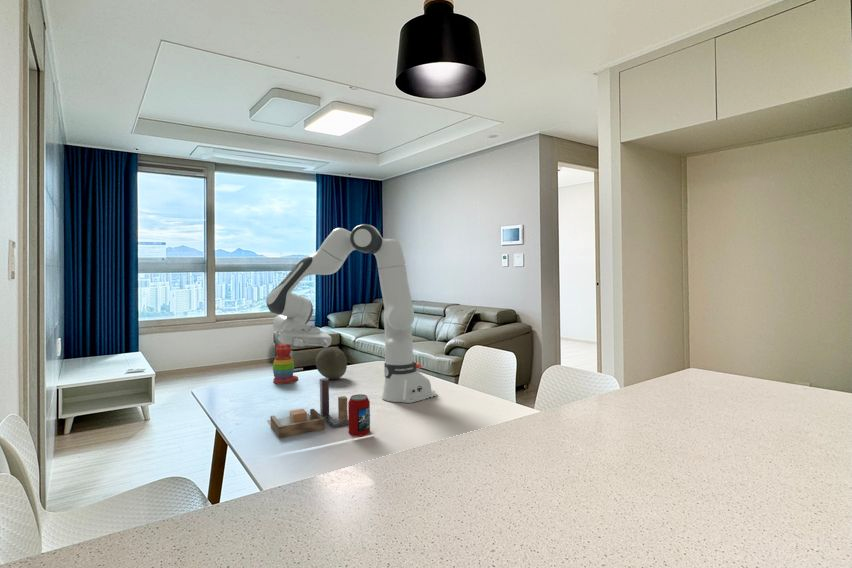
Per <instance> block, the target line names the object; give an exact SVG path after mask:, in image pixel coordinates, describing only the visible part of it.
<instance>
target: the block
mask: <svg viewBox="0 0 852 568" xmlns="http://www.w3.org/2000/svg"><path fill="white" fill-rule="evenodd" d="M307 414H308V413H307V411H306V410H305V409H304V408H299V409H294V410H289V417H290V424H292V423H297V422H303V421H307Z"/></svg>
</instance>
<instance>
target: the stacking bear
mask: <svg viewBox="0 0 852 568" xmlns="http://www.w3.org/2000/svg"><path fill="white" fill-rule="evenodd" d="M275 347H276V348H275V353H276V356H275V358H274V360H273V364H272V373H273V380H272V381H273V384H277V385H287V384H286V383H288V384H292V383H295V382H297V381H298V380H299V377H298V376H297V375H294V372H295V363H294V359H293V357H292V356H291V352H292V344H283V343H276V344H275Z"/></svg>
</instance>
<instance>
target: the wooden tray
mask: <svg viewBox="0 0 852 568" xmlns="http://www.w3.org/2000/svg"><path fill="white" fill-rule="evenodd" d="M269 417H270V419H268V420H266V422H267V424H268V425H269V426H270V428H271V429H272V431H273V432H274V433H275V435H276V436H277V438H278V439H284V438H290V437H294V436H299V435H305V434H309V433H314V432H319V431H324V430H325V429H326V426H325V422H326V421H325V419H324V418H323V417H322V416H321V415H320V413H319V412H318V411H317V410H316V409H315V408H311V409H310V410H309V413H307V421H303V422H297V423H292V424H290V416H286V417H285V416H284V417H280V418H278V417H276V415H274V414H273V415H270V416H269Z"/></svg>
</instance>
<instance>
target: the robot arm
mask: <svg viewBox="0 0 852 568" xmlns="http://www.w3.org/2000/svg"><path fill="white" fill-rule="evenodd" d="M353 251H358V252H361V253H364V254H372V255H374V256H375V260H376V264H377V271H378V277H379V279H378V280H379V285H380V291H381V296H382V302H383V309H384V311H383V318H384V319H383V322H384V343H385V344H384V346H385V347H384V349H385V358H384V360H385V362H384V363H383V364H384V367H383V369H384V370H383V371H384V372H383V373H384V385H383V392H382V395H381V399H383V400H384V401H387V402H394V403H403V404H404V403H406V404H413V403H415V402H419V401H422V400H427V399H430V398H429V397H431V398H434V397H433V396H435V397H437V396H438V393H437V391H436V390H434V389H432V384H431V382H430V379H429V378H428V377H426V376H425V375H423V374H422V373H421V372H419V371H418V369H419V370H420V369H422V364H421V363H419V362H415V361H414V357H413V356H414V353H413V352H414V351H413V350H414V347H413V345H414V342H413V333H412V331H413V330H412V325H413V323H414V320H415V313H414V312H415V311H414V306H413V302H412V296H411V289H410V286H409V281H408V273H407V267H406V260H405V255H404V251H403V249H402V246H401V243H400V242H399V241H398V240H396V239H395V238H394V239H393V238H384V237H382V234H381V232H380V230H379V229H377V228H376V227H375V226H373V225H371V224H367V223H362V224H358V225H356V226H355V227H354V228H353V229H352V230H351V231H349V230H348V229H346V228H343V227H337V228H334V229H333V230H332V231H331V232H330V234H328V236H327V237H326V238H325V239H324V241H323V242H322V243H321V245H320V246H319V248H318V249H317V250H316V251H315V252H314V253H313V254H311V255H309V256H304V257H303V258H302V259H301V260H300V261H299V262H298V263H297V264H296V265H295V266H294V267H293V268H292V269H291V271H289V273H288V274H287V275H286V276H285V278H284V279H283V280H281V282H280V283H279V284H278V285H277V286H276V287H275V288H274V289H273V290H271V291H270V292H269V294H268V296H267V298H266V300H265V301H266V303H265V304H266V305H267V308H268V310H269V312H270V313H272V314H275V315H276V316H275V317H274V318H273V321H272V326H273V327H272V328H273V330H274V331H275V332H274V335H275V337H277V339H278V341H279V342H280V344H282V343H283V344H290V345H291V346H292V345H293V346H294V347H305V346H319V347H323V348H329V346H331V343H332V336H331V335H330V334H329V333H326V332H324V331H323V330H321V328H320V327H318V326H312V325H309V324H308V323H309V321H310V320H311V318H312V315H313V312H314V311H313V310H314V307H313V303H312V301H311V300H310V299H308V298H306V297H303V296H302V295H299V294H296V293H293V290H295V288H296V287H297V286H298V284H299V283H301V282H302V280H303V279H304V278H306V277H309V276H313V275H320V276H328V275H333V274H335V273H337V272H338V271H339V270H340V268H342V266H343V264H344V263H345V261H346V260H347V258H348V257H349V255H350V254H351V253H352V252H353ZM426 398H427V399H426Z"/></svg>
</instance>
